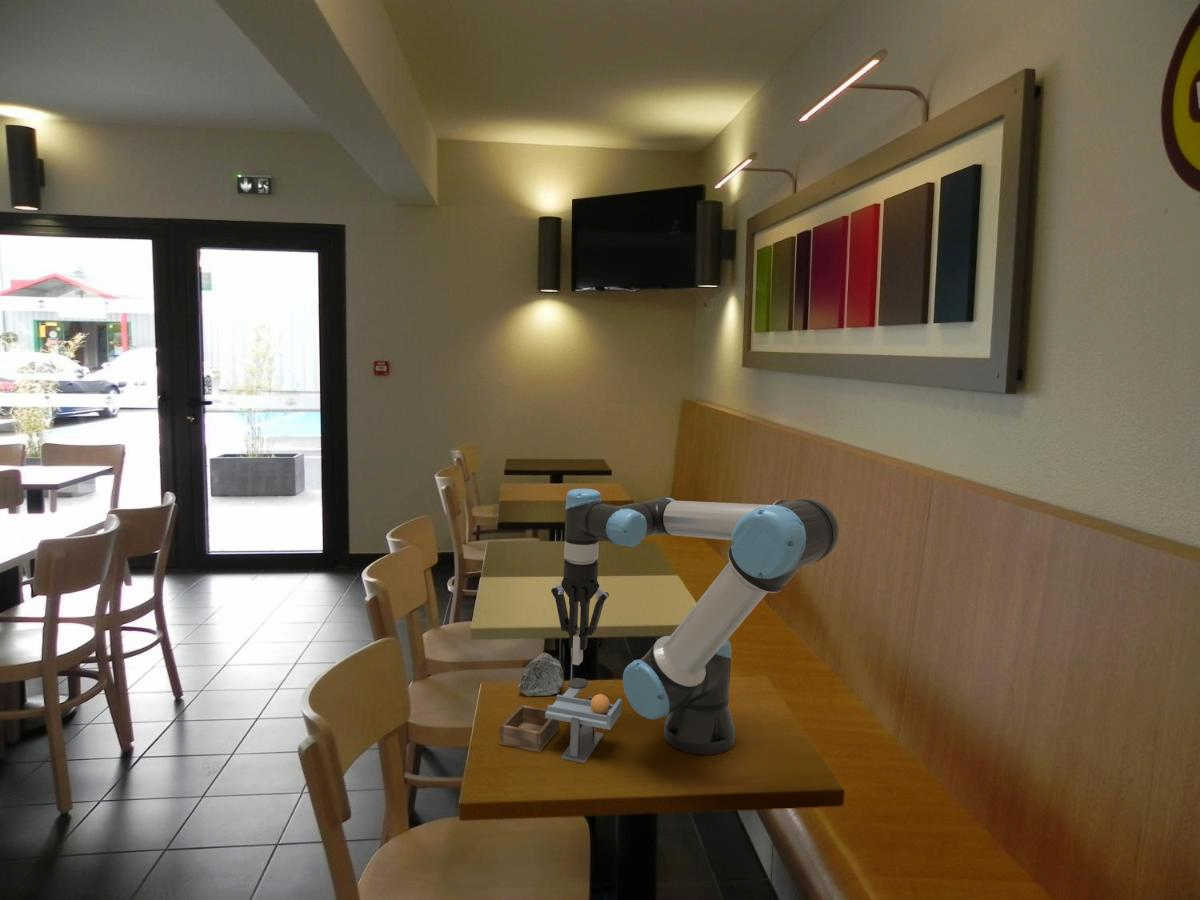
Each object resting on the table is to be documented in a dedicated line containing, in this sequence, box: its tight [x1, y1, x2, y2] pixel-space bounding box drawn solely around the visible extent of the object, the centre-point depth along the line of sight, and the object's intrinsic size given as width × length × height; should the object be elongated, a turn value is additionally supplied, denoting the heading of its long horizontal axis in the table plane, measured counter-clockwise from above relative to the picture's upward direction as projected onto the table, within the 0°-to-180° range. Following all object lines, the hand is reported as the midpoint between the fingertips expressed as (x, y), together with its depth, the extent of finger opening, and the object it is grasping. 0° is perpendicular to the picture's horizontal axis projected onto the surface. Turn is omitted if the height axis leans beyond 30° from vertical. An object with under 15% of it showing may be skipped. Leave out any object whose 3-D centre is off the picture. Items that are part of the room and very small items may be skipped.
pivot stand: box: [560, 695, 604, 764], centre depth 163 cm, size 5×12×9 cm, turn 162°
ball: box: [591, 693, 611, 714], centre depth 161 cm, size 4×4×4 cm
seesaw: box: [545, 677, 623, 731], centre depth 167 cm, size 15×18×3 cm
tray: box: [499, 704, 560, 753], centre depth 167 cm, size 9×11×4 cm
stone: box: [517, 652, 565, 697], centre depth 189 cm, size 10×10×10 cm
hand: (577, 662), depth 174 cm, fingers closed
